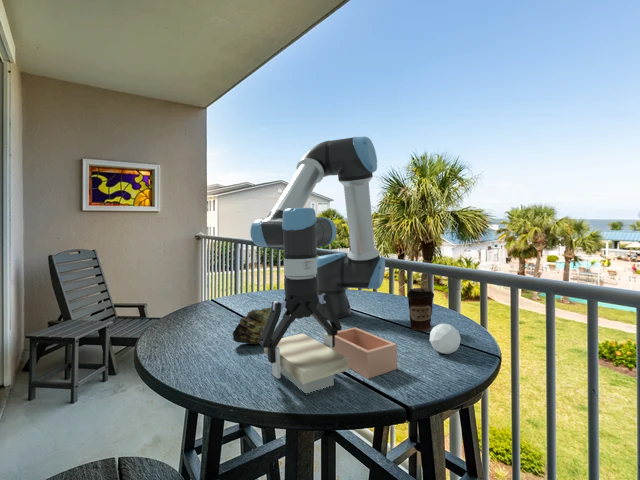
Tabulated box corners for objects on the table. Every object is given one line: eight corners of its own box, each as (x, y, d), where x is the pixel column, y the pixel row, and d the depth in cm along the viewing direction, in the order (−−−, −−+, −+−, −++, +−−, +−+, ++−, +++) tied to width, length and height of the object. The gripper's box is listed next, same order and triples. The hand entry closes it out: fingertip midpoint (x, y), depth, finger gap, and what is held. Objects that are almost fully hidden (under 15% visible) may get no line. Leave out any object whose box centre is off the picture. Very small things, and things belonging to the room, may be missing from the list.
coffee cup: (436, 333, 104) (435, 292, 103) (408, 332, 105) (407, 292, 105) (432, 325, 112) (432, 286, 111) (407, 324, 114) (406, 286, 113)
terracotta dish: (329, 355, 89) (328, 333, 88) (355, 348, 93) (355, 327, 93) (368, 378, 75) (367, 352, 75) (397, 368, 80) (396, 344, 80)
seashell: (238, 337, 106) (236, 306, 105) (274, 335, 107) (273, 304, 106) (232, 349, 95) (230, 315, 95) (272, 347, 96) (271, 313, 96)
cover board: (264, 352, 82) (263, 342, 82) (303, 342, 88) (303, 333, 88) (303, 384, 65) (303, 371, 65) (348, 369, 71) (348, 358, 71)
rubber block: (277, 370, 81) (276, 354, 81) (302, 363, 84) (302, 347, 84) (305, 394, 69) (305, 375, 69) (333, 385, 73) (333, 367, 72)
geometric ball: (453, 364, 88) (467, 346, 83) (423, 352, 89) (435, 334, 84) (453, 341, 94) (466, 324, 89) (425, 331, 95) (436, 313, 90)
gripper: (254, 285, 66) (258, 390, 67) (354, 272, 79) (356, 360, 80) (241, 280, 72) (245, 376, 73) (336, 269, 85) (338, 351, 86)
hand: (303, 368), depth 77 cm, fingers open, 13 cm apart
